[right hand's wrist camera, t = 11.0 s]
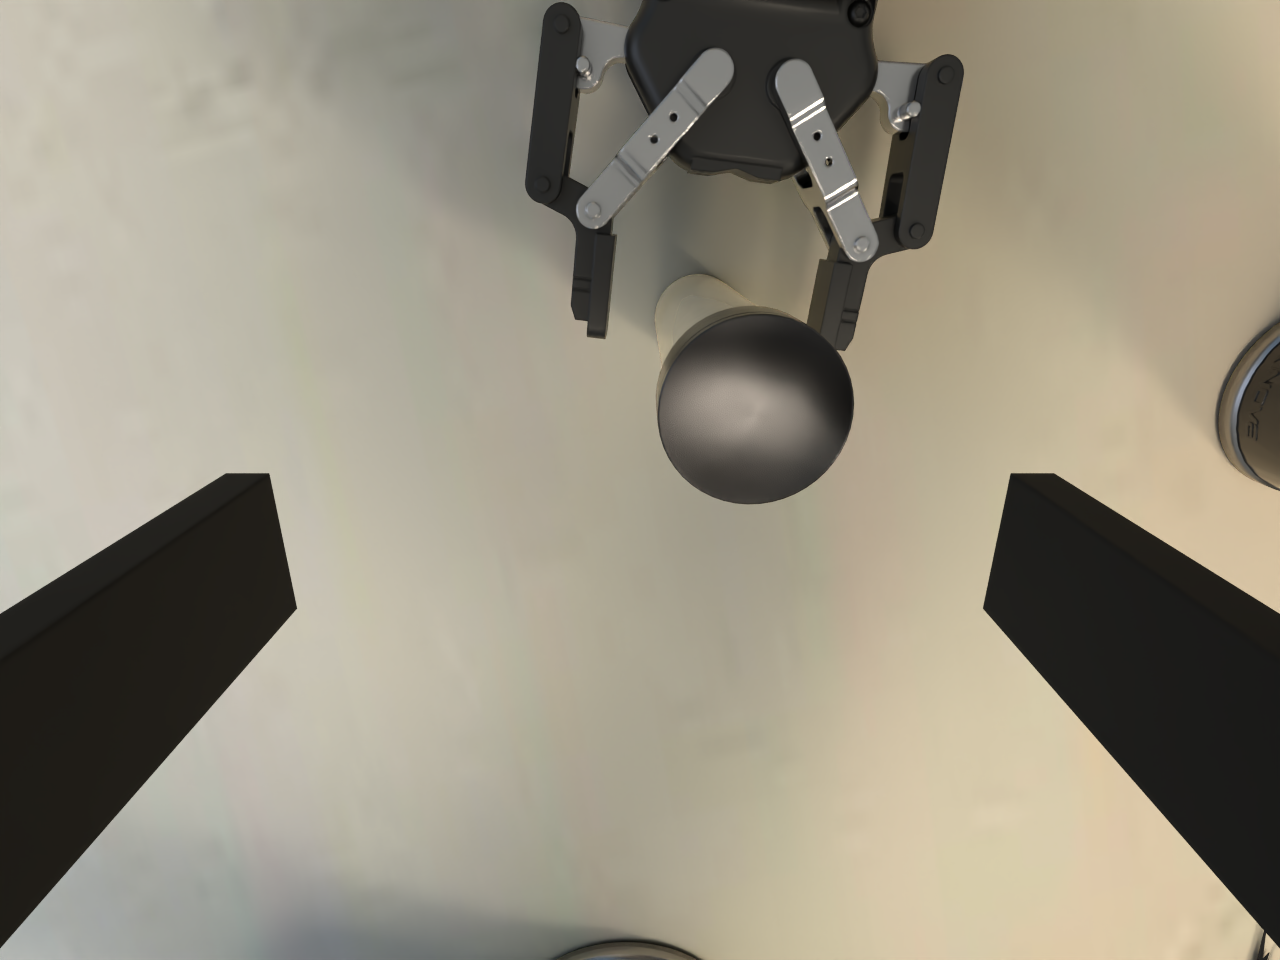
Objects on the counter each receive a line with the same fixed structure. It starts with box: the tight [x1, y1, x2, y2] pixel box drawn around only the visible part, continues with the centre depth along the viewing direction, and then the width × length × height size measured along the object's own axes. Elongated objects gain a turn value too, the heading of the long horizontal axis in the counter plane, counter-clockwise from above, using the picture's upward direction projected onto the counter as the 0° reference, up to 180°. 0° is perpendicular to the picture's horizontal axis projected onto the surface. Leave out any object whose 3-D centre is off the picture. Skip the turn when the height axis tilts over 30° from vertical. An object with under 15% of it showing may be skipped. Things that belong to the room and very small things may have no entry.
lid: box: [656, 306, 854, 504], centre depth 17 cm, size 5×5×2 cm
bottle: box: [654, 274, 756, 366], centre depth 24 cm, size 4×4×17 cm
